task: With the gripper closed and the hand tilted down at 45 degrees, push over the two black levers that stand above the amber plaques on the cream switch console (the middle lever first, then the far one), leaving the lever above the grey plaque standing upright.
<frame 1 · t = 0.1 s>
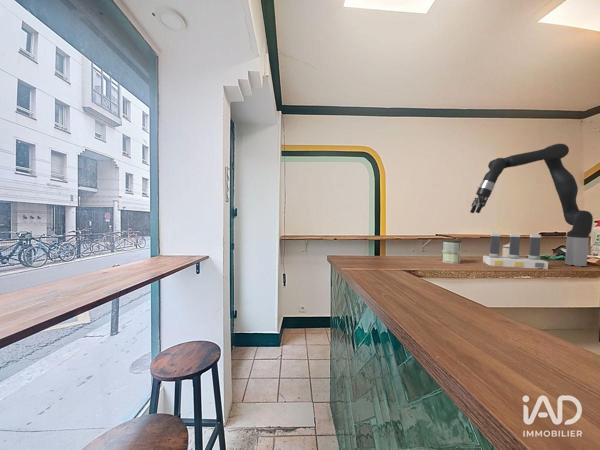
hand: (474, 212, 173), 31 cm above the counter, tool tilted 20°, fingers open, 8 cm apart
lever near: (534, 247, 158), point 12 cm above the counter, hinge at 0.0°
coffee can: (450, 262, 170), on the counter
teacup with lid: (510, 259, 181), on the counter
lever far: (494, 245, 164), point 12 cm above the counter, hinge at 0.0°
console: (513, 265, 161), on the counter
lever middle: (514, 246, 161), point 12 cm above the counter, hinge at 0.0°
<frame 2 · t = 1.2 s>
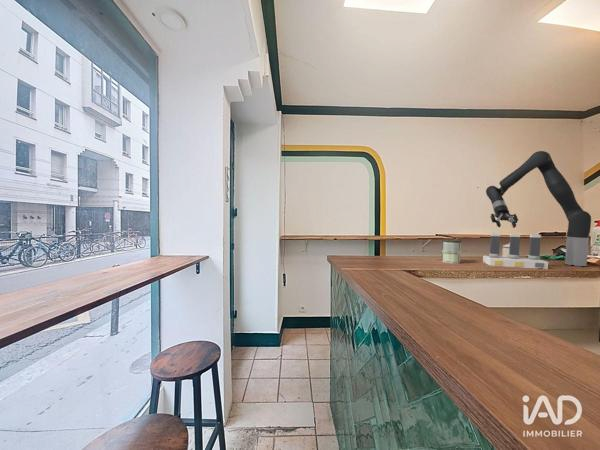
hand: (507, 226, 171), 23 cm above the counter, tool tilted 45°, fingers open, 7 cm apart
nothing on the counter moved.
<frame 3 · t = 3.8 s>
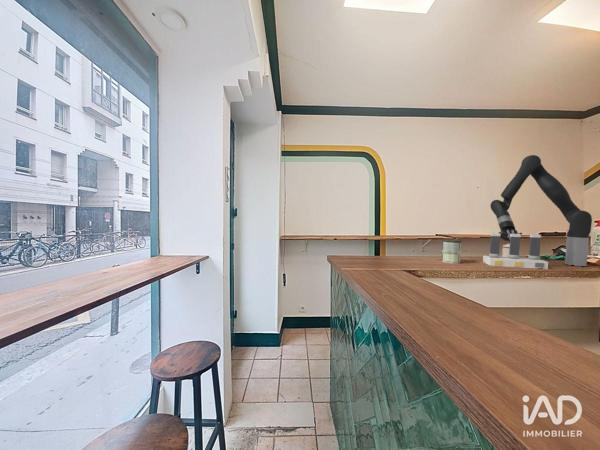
hand: (513, 245, 162), 12 cm above the counter, tool tilted 45°, fingers closed
lever middle: (514, 246, 160), point 12 cm above the counter, hinge at 2.1°, touching gripper
everything else where it was.
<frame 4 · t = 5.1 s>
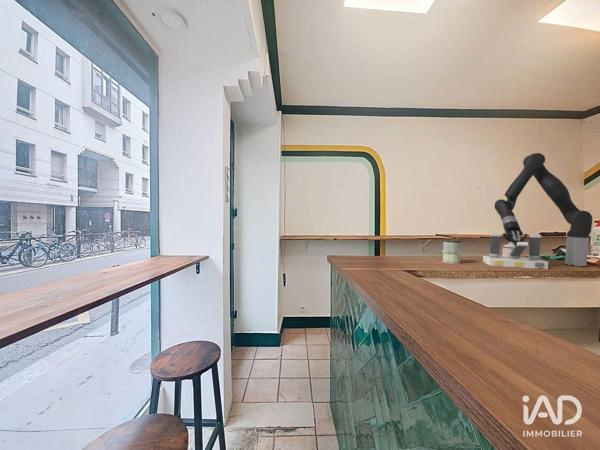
hand: (518, 247, 155), 12 cm above the counter, tool tilted 45°, fingers closed
lever middle: (517, 250, 156), point 10 cm above the counter, hinge at 47.6°, touching gripper
everything else where it was.
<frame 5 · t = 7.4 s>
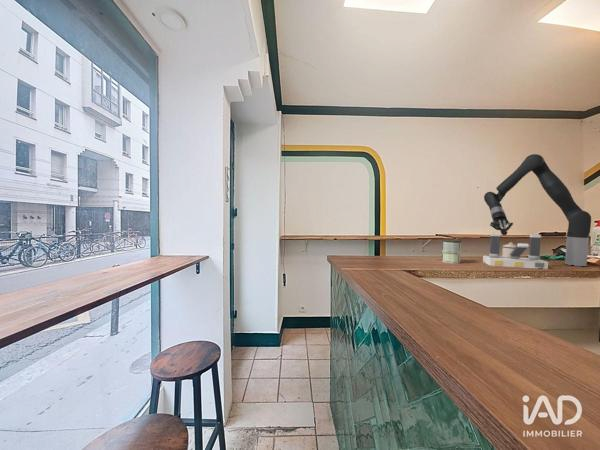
hand: (504, 234, 170), 18 cm above the counter, tool tilted 45°, fingers closed
lever middle: (518, 251, 156), point 9 cm above the counter, hinge at 51.8°
everything else where it was.
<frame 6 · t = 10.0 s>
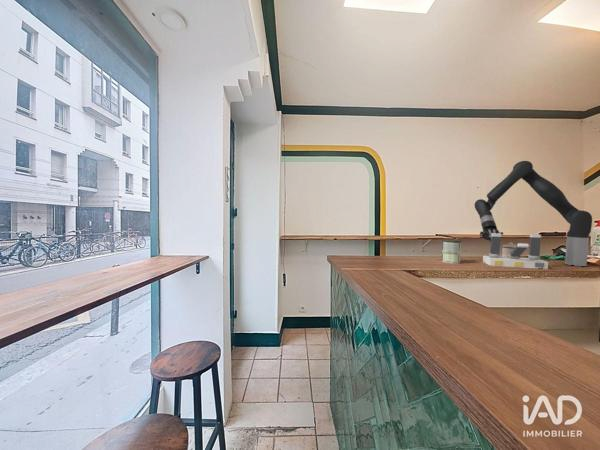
hand: (494, 244, 164), 12 cm above the counter, tool tilted 45°, fingers closed
lever far: (495, 245, 163), point 12 cm above the counter, hinge at 6.4°, touching gripper
everything else where it was.
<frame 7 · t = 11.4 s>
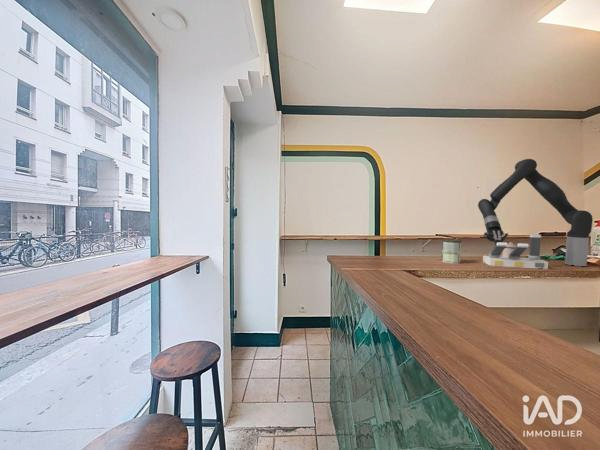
hand: (499, 246, 157), 12 cm above the counter, tool tilted 45°, fingers closed
lever far: (497, 250, 159), point 9 cm above the counter, hinge at 50.9°, touching gripper
everything else where it was.
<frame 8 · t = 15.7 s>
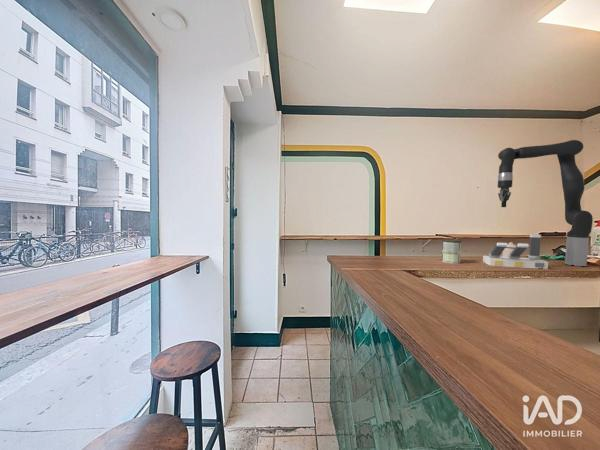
hand: (503, 207, 173), 35 cm above the counter, tool pointing down, fingers closed
lever far: (497, 250, 159), point 9 cm above the counter, hinge at 51.6°
everything else where it was.
at the end: lever middle at +52° (first picture: +0°); lever far at +52° (first picture: +0°); lever near at +0° (first picture: +0°) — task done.
